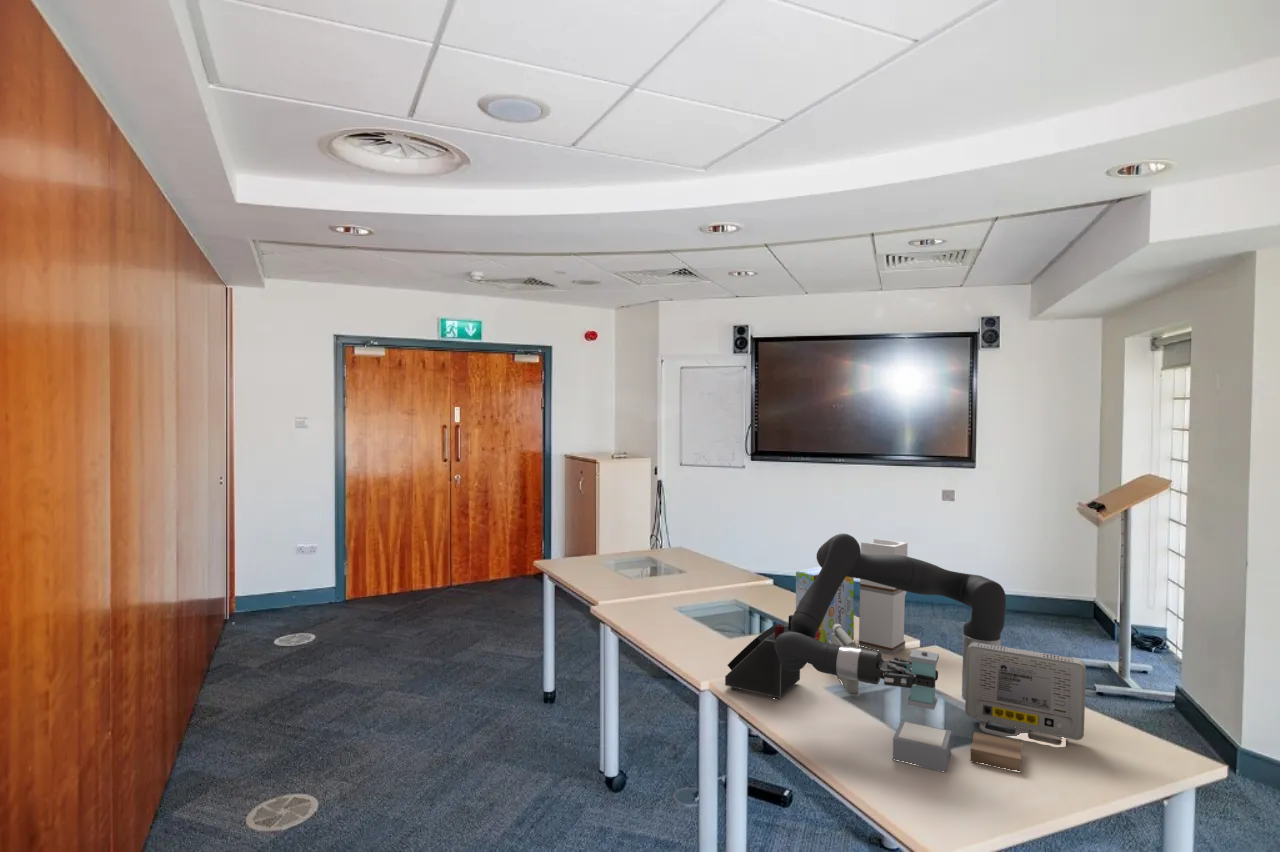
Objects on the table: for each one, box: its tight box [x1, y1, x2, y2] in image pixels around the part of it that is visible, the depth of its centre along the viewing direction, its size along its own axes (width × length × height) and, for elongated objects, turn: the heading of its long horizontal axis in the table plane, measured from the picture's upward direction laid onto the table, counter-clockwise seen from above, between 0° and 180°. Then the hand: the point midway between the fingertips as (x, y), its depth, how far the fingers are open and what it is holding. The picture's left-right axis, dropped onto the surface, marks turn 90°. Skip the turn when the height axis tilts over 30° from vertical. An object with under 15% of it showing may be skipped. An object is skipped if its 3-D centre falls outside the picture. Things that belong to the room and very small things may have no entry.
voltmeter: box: [724, 614, 801, 700], centre depth 206 cm, size 16×16×20 cm
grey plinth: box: [892, 720, 952, 773], centre depth 165 cm, size 11×11×5 cm
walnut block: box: [970, 731, 1023, 771], centre depth 165 cm, size 10×10×3 cm
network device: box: [964, 642, 1087, 741], centre depth 178 cm, size 26×9×20 cm, turn 59°
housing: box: [907, 648, 940, 711], centre depth 165 cm, size 6×6×12 cm
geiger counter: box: [828, 624, 860, 694], centre depth 215 cm, size 14×6×25 cm
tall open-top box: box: [858, 538, 909, 655], centre depth 243 cm, size 11×11×35 cm
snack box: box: [795, 565, 855, 644], centre depth 245 cm, size 22×9×26 cm, turn 128°
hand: (936, 679), depth 164 cm, fingers closed on housing, 4 cm apart
